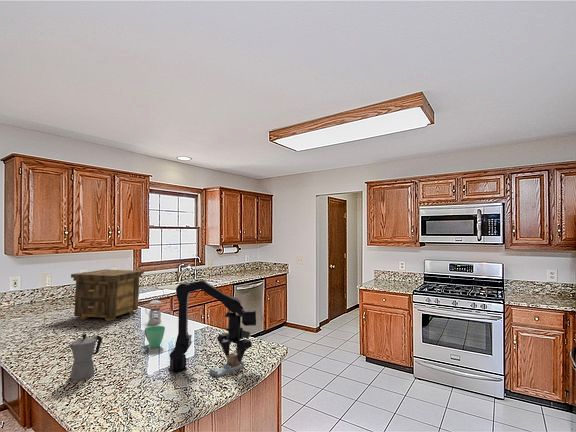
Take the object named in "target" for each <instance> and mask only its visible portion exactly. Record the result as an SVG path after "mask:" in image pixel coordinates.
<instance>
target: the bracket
mask: <svg viewBox="0 0 576 432" xmlns="http://www.w3.org/2000/svg"><path fill="white" fill-rule="evenodd" d="M244 367H245V361H243V360H242V361H241V362H240V365H239V366H236V367H233V368H231V366H230V365H227V363H223V364H222V367H219V368H217V369H214V368H212V367H211V368H209V369H208V371H209V374H208V375H210V374H211V375H210V376H212V375H213V377H214V376H215V377H214V378H219V377H221V376H224V375H227V374H230V373H232V372H234V371H237V370H239V369H242V368H244ZM226 373H227V374H226ZM223 374H224V375H223ZM218 376H219V377H218Z"/></svg>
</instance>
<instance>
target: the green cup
mask: <svg viewBox="0 0 576 432" xmlns="http://www.w3.org/2000/svg"><path fill="white" fill-rule="evenodd" d="M165 329H166V327H165V326H163V325H154V326H146V327H145V328H144V335H145V338H146V340H147V342H148V344H149V348H152V349H157V348H160V347H161V344H162V341H163V339H164V335H165V332H166V331H165Z"/></svg>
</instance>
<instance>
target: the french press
mask: <svg viewBox="0 0 576 432" xmlns="http://www.w3.org/2000/svg"><path fill="white" fill-rule="evenodd" d="M154 289H158V286H154ZM159 304H162V301H160V300H158V299H157V298H155V300H154V299H153V300H151V301H149V304H147V305H146V307H145V309H144V310H145V312H146V314H147V315H148V321H147V322H146V323H147V324H148V325H149V324H151V325H153V324H161V323H162V322H163V320H162V319H161V318H162V317H161V316H162V313H161V312H162V310H161V307H160V306H156V305H159ZM151 305H154V307H152V306H151ZM148 306H149V309H150V310H149V312H148V310H147V308H148Z"/></svg>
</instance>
